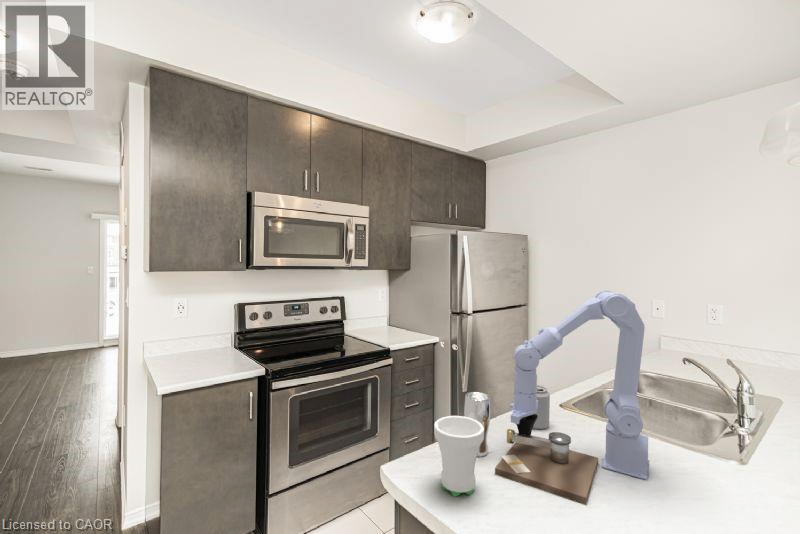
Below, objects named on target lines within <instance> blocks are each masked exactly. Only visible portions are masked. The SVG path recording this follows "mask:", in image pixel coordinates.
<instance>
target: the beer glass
mask: <svg viewBox="0 0 800 534" xmlns="http://www.w3.org/2000/svg"><path fill="white" fill-rule="evenodd" d="M491 408H492V406H491V396H490V395H489V394H487V393H484V392H482V391H481V392H479V391H471V392H467V393H465V397H464V408H463V409H464V410H463V411H464V413H463V414H464V415H463V416H464V417H469V418H472V419H475V420H477V421H478V422H480V423H481V424H482V425H483V427H484V440H483V441H482V443H481V445H480V447H479V450H478V453H477V456H476V457H479V458H481V457H486V456H487V455H488V454H489V447H488V446H489V445H488V433H489V428H490V423H491Z"/></svg>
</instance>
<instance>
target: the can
mask: <svg viewBox="0 0 800 534" xmlns="http://www.w3.org/2000/svg"><path fill="white" fill-rule="evenodd" d="M550 399H551V397H550V393H549V391H548V388H547V387H546V386H544V385H538V384H537V400H538V408H537V413H536V415H537V416H538V418H537V420H536V421H535V423H534V426H533V429H535V430H545V429H546V428H547V427H549V426H550V407H551V406H550V403H551V402H550ZM533 429H532V430H533Z"/></svg>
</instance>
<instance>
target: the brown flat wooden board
mask: <svg viewBox="0 0 800 534" xmlns="http://www.w3.org/2000/svg"><path fill="white" fill-rule="evenodd" d="M500 458H501V460H500V461H499V462H498V464H497V465H496V467H495V468H494V475H496V476H500V477H502V478H506V479H508V480H512V481H515V482H517V483H520V484H523V485H526V486H530V487H532V488H535V489H538V490H541V491H544V492H546V493H550V494H553V495H556V496H558V497H562V498H565V499H567V500H571V501H573V502H576V503H579V504H583V505H585V506H587V503H588V500H589V496H590V493H591V490H592V487H593V486H592V485H593V483H594V479H595V476H596V472H597V469H598V465H599V457H598V456H594V455H591V454H587V453H583V452H579V451H576V450H571V449H569V462H568V463H557V462H555V461H553V460H551V458H550V449H546V448H541V447H536V446H531V445H526V444H522V443H517V442H514V443H513V444H512V446H511V447H510V448H509V449H508V451H507V452H506V454H505V455H501V456H500Z"/></svg>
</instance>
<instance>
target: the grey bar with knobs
mask: <svg viewBox="0 0 800 534" xmlns="http://www.w3.org/2000/svg"><path fill="white" fill-rule="evenodd" d="M515 442H517V443H522V444H526V445H531V446H536V447H541V448H546V449H550V458H551V460H553V461H555V462H557V463H568V462H569V450H570V444H571V443H572V437H571V436H570V435H569V434H567V433H564V432H558V431H553V432H550V433H548V438H547V437H540V436H537V435H532V434H531V435H526V434H521V433H519V432H516V431H515V430H514V429H512V428H508V429H506V443H508V444H510V445H511V444H512V445H514V443H515Z"/></svg>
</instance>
